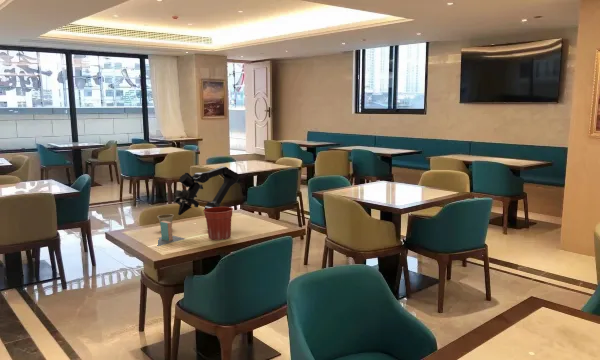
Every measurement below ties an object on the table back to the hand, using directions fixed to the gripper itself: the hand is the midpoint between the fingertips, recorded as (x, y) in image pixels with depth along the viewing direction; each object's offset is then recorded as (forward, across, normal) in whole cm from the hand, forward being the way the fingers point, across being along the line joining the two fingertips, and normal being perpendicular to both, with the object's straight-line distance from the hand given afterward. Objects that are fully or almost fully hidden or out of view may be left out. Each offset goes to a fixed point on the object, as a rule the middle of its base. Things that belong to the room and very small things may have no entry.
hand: (178, 214), depth 279 cm
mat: (+18, 0, -1) cm, 18 cm away
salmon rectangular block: (+15, 0, +1) cm, 15 cm away
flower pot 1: (+6, -23, +10) cm, 26 cm away
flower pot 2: (+2, +18, +20) cm, 27 cm away
